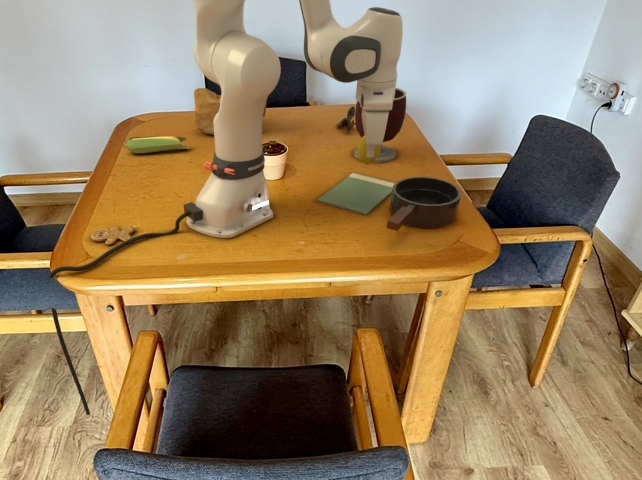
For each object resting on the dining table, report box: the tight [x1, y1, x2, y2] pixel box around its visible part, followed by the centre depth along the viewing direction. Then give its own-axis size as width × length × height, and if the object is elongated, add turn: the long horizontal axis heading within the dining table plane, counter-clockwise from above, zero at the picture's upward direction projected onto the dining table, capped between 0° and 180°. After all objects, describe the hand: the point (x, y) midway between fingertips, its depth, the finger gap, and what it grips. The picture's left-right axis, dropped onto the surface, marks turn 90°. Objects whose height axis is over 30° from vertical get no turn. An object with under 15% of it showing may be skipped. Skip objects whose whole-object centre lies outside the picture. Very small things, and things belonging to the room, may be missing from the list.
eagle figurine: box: [336, 106, 356, 135], centre depth 172 cm, size 8×7×9 cm
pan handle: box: [385, 204, 416, 232], centre depth 119 cm, size 12×3×2 cm, turn 145°
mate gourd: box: [353, 87, 407, 164], centre depth 152 cm, size 16×14×20 cm
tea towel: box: [316, 172, 396, 216], centre depth 139 cm, size 20×14×1 cm
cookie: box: [91, 225, 136, 246], centre depth 125 cm, size 8×1×10 cm
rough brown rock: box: [193, 87, 268, 136], centre depth 173 cm, size 23×17×15 cm
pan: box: [388, 176, 462, 229], centre depth 128 cm, size 16×16×6 cm
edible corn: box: [124, 135, 191, 155], centre depth 162 cm, size 5×20×5 cm, turn 98°
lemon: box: [357, 135, 381, 166], centre depth 131 cm, size 6×6×8 cm
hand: (368, 151), depth 131 cm, fingers closed on lemon, 5 cm apart
